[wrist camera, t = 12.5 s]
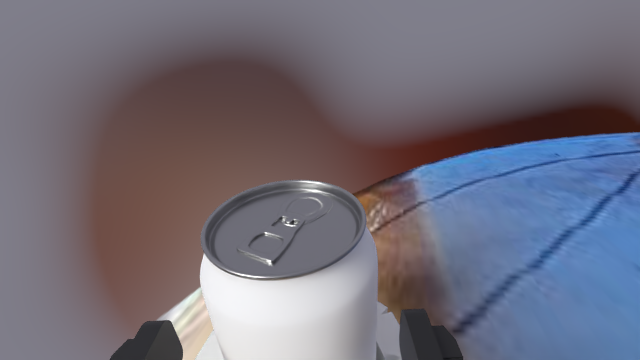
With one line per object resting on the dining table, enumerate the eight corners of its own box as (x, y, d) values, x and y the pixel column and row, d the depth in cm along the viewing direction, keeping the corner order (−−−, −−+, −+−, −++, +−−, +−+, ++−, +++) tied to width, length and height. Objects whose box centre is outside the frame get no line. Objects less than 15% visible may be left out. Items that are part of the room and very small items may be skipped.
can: (390, 376, 17) (403, 191, 12) (341, 526, 12) (323, 328, 7) (293, 331, 20) (266, 165, 15) (222, 437, 15) (141, 248, 10)
